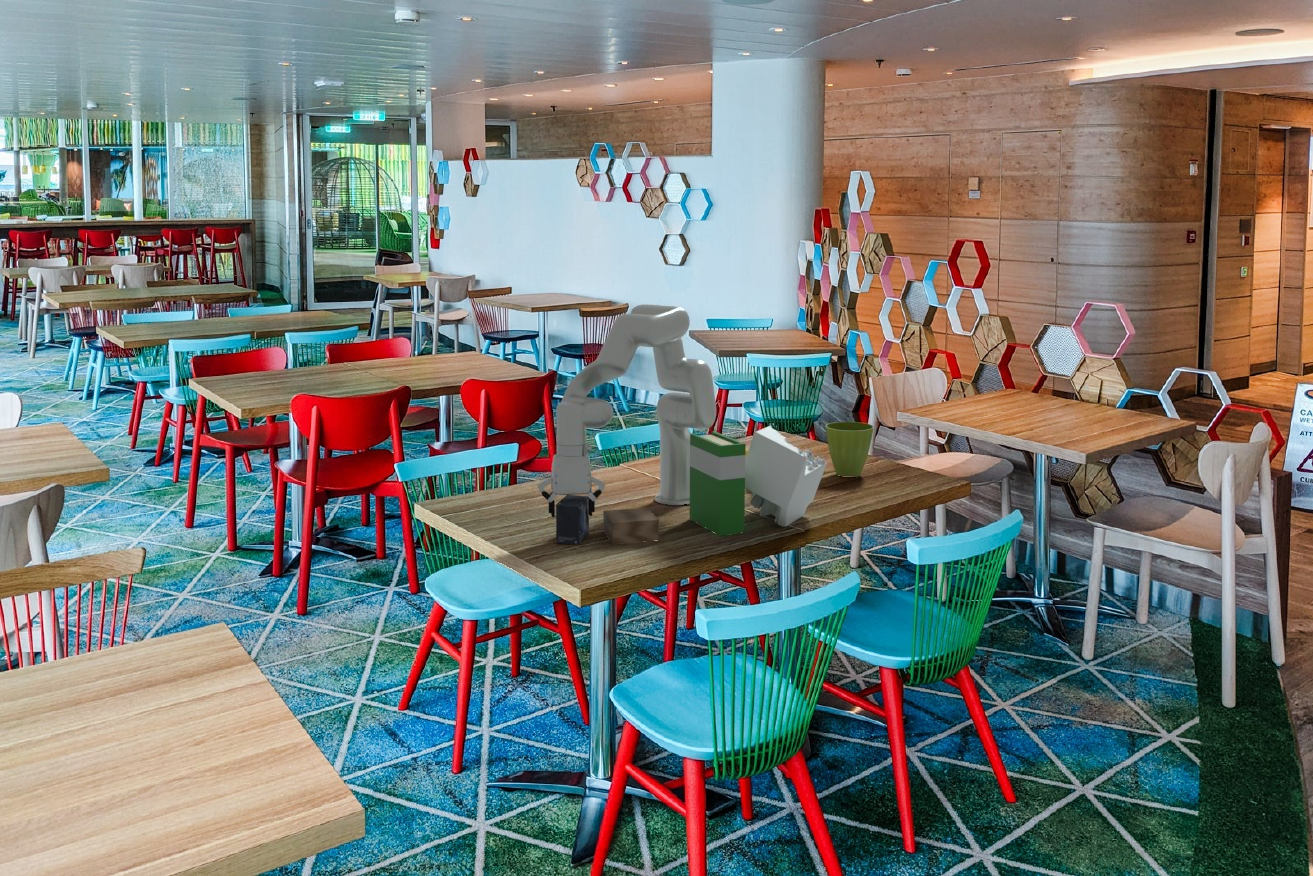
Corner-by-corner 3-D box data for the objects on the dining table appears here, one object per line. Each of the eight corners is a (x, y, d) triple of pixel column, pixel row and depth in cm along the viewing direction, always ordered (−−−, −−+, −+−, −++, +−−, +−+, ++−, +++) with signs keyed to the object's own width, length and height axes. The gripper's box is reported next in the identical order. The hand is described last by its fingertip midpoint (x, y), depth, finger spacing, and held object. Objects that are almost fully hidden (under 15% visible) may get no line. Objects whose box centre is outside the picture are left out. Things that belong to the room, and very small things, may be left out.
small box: (579, 545, 293) (579, 505, 291) (555, 544, 294) (554, 504, 292) (590, 534, 303) (590, 495, 301) (566, 532, 305) (565, 494, 302)
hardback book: (689, 519, 317) (690, 433, 312) (713, 516, 320) (714, 431, 315) (719, 536, 301) (720, 446, 296) (744, 532, 304) (745, 443, 299)
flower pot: (823, 480, 361) (824, 429, 358) (824, 469, 375) (826, 420, 372) (872, 481, 358) (874, 431, 355) (871, 470, 373) (873, 422, 370)
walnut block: (647, 529, 308) (647, 507, 307) (658, 542, 297) (658, 519, 296) (603, 532, 305) (603, 510, 304) (612, 545, 294) (612, 522, 293)
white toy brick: (758, 496, 331) (787, 418, 321) (806, 521, 324) (837, 443, 315) (725, 513, 314) (754, 431, 304) (775, 540, 307) (806, 458, 298)
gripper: (603, 446, 299) (603, 510, 302) (536, 448, 296) (537, 512, 299) (606, 452, 292) (606, 518, 295) (538, 454, 289) (538, 520, 292)
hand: (571, 515), depth 297 cm, fingers open, 9 cm apart
